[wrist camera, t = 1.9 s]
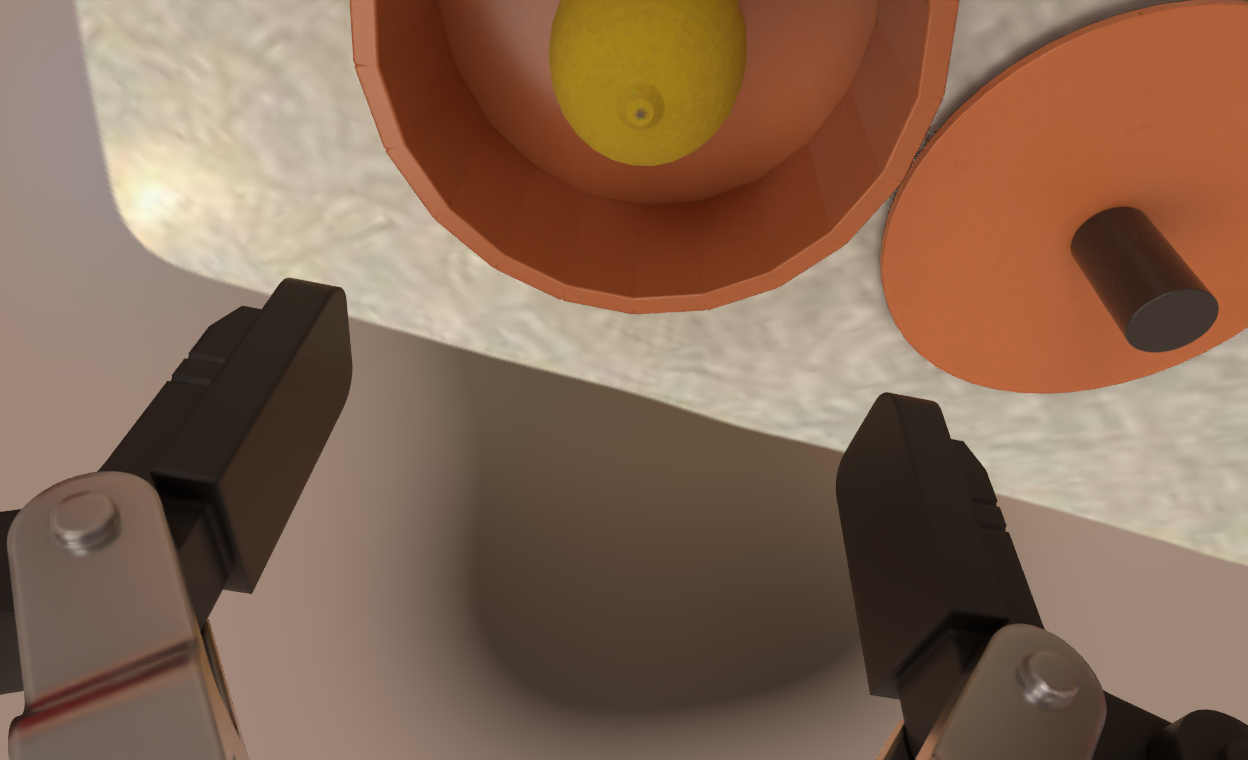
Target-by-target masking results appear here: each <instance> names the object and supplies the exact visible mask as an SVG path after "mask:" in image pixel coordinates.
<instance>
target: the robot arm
mask: <svg viewBox="0 0 1248 760" xmlns="http://www.w3.org/2000/svg"><path fill="white" fill-rule="evenodd" d="M351 379H352V355H351V344H350V334H349V323H348V312H347V301H346V295H345V292H344V290H343V289H342V288H341V287H336V286H331V285H325V284H320V283H315V282H310V281H304V280H299V279H294V278H286V279H284V280H283V281H282V282H281V283H280V284H279V285H278V287H277V288H276V290H275V291H274V293H273V294H272V295H271V297H270V299H269V300H268V301H267V303H266V304H265V305H264V307H263V308H262V309H257V308H252V307H246V306H241V307H239V308H238V309H236V310H235V311H233V312H231V313H230V314H228V315H227V316H225V317H223V318H222V319H220V320H219V321H217V322H215V323H214V324H212V325H211V326H209V327H208V329H207V330H206V331H205V333H204V334H203V335H202V336H201V338H200V339H199V340H198V342H197V343H196V344H195V346H194V347H193V348H192V350H191V351H190V352H189V357H188V359H184V360H183V361H182V363H181V364H180V365H179V367H178V368H177V369H176V370H175V372H174V373H173V374H172V379H171V381H167V382H166V384H165V385H164V386H163V388H162V389H161V390H160V392H159V393H158V394H157V395H156V397H155V398H154V399H153V401H152V402H151V403H150V405H149V406H148V407H147V409H146V410H145V411H144V412H143V414H142V415H141V416H140V418H139V419H138V420H137V422H136V423H135V424H134V426H133V427H132V428H131V430H130V431H129V432H128V433H127V435H126V436H125V437H124V439H123V440H122V441H121V443H120V444H119V445H118V446H117V448H116V449H115V450H114V452H113V453H112V454H111V456H110V457H109V458H108V460H107V461H106V462H105V463H104V465H103V466H102V467H101V468H100V469H99V470H98V471H97V472H93V473H88V474H83V475H79V476H75V477H72V478H69V479H66V480H64V481H62V482H59V483H57V484H55V485H53V486H51V487H49V488H48V489H46V490H44V491H43V492H41V493H40V494H38V495H37V496H36V497H34V498H33V499H32V500H31V501H30V502H29V503H27V504H26V505H25V506H24V507H23V508H22V509H18V510H12V511H5V512H0V695H1V694H6V693H13V692H19V691H24V696H25V708H24V712H23V714H22V715H20V716H18V717H15V718H14V719H13V721H12V722H11V724H10V729H9V736H8V754H9V760H249V757H248V753H247V750H246V747H245V744H244V741H243V737H242V734H241V730H240V727H239V723H238V720H237V716H236V713H235V709H234V706H233V702H232V699H231V695H230V692H229V688H228V685H227V682H226V678H225V674H224V671H223V667H222V664H221V661H220V657H219V654H218V650H217V646H216V643H215V640H214V636H213V633H212V629H211V626H210V622H209V619H208V617H209V614H210V613H211V611H212V609H213V607H214V605H215V603H216V601H217V599H218V598H219V596H220V594H221V592H222V590H223V589H224V590H230V591H236V592H242V593H249V594H252V592H253V590H254V588H255V586H256V584H257V582H258V580H259V578H260V576H261V574H262V572H263V570H264V568H265V566H266V564H267V562H268V560H269V558H270V556H271V554H272V552H273V550H274V548H275V546H276V544H277V542H278V540H279V538H280V535H281V534H282V532H283V529H284V527H285V525H286V523H287V521H288V519H289V517H290V515H291V513H292V511H293V509H294V507H295V505H296V503H297V501H298V499H299V497H300V495H301V493H302V491H303V489H304V487H305V485H306V483H307V481H308V479H309V477H310V474H311V473H312V471H313V468H314V466H315V464H316V462H317V460H318V458H319V456H320V454H321V452H322V450H323V448H324V446H325V444H326V442H327V440H328V438H329V436H330V434H331V432H332V430H333V428H334V426H335V424H336V422H337V420H338V418H339V416H340V413H341V411H342V409H343V407H344V405H345V403H346V400H347V397H348V394H349V390H350V385H351ZM836 496H837V503H838V508H839V514H840V520H841V526H842V532H843V538H844V544H845V549H846V556H847V561H848V567H849V573H850V579H851V585H852V591H853V597H854V602H855V609H856V614H857V620H858V626H859V632H860V638H861V644H862V650H863V656H864V662H865V667H866V673H867V679H868V685H869V691H870V695H874V696H880V697H887V698H893V699H900V702H901V707H902V712H903V717H904V718H903V719H902V720H901V721H900V722H899V723H898V724H897V725H896V727H895V728H894V729H893V731H892V733H891V735H890V736H889V738H888V740H887V741H886V743H885V745H884V746H883V748H882V750H881V752H880V753H879V755H878V757H877V758H876V760H1248V725H1246V724H1245V723H1243V722H1241V721H1240V720H1238V719H1236V718H1234V717H1232V716H1229V715H1227V714H1224V713H1221V712H1218V711H1213V710H1197V711H1194V712H1191V713H1189V714H1188V715H1186V716H1184V717H1182V718H1180V719H1179V720H1177V721H1175V722H1174V723H1170V722H1168V721H1166V720H1164V719H1162V718H1160V717H1158V716H1155V715H1154V714H1152V713H1149V712H1147V711H1145V710H1143V709H1141V708H1139V707H1137V706H1134V705H1132V704H1130V703H1128V702H1126V701H1124V700H1121V699H1120V698H1117V697H1115V696H1113V695H1111V694H1109V693H1108V692H1106V691H1104V690H1103V689H1102V687H1101V684H1100V683H1099V680H1098V679H1097V677H1096V675H1095V673H1094V672H1093V670H1092V669H1091V667H1090V666H1089V665H1088V664H1087V662H1086V661H1085V660H1084V659H1083V657H1082V656H1081V655H1080V654H1079V653H1078V652H1077V651H1076V650H1075V649H1074V648H1073V647H1071V646H1070V645H1069V644H1067V643H1066V642H1065V641H1064V640H1062V639H1061V638H1059V637H1058V636H1056V635H1054V634H1052V633H1051V632H1048V631H1046V630H1045V629H1044V627H1043V624H1042V621H1041V619H1040V616H1039V613H1038V610H1037V608H1036V605H1035V602H1034V600H1033V597H1032V594H1031V591H1030V589H1029V586H1028V583H1027V580H1026V578H1025V575H1024V572H1023V570H1022V567H1021V564H1020V561H1019V559H1018V556H1017V553H1016V550H1015V548H1014V545H1013V542H1012V540H1011V537H1010V534H1009V533H1008V532H1006V531H1005V528H1006V523H1005V521H1004V518H1003V515H1002V512H1001V509H1000V507H997V506H996V503H997V499H996V496H995V493H994V490H993V488H992V485H991V482H990V479H989V477H988V474H987V471H986V470H985V468H984V467H983V466H982V464H981V463H980V462H979V461H978V459H977V458H976V457H975V456H974V454H973V453H972V452H971V450H970V449H969V448H968V447H967V445H966V444H965V443H964V442H963V441H959V440H953V439H951V438H950V435H949V432H948V429H947V426H946V423H945V420H944V417H943V414H942V411H941V408H940V407H939V405H938V404H937V403H936V402H934V401H930V400H925V399H920V398H914V397H909V396H904V395H898V394H893V393H888V392H886V393H883V394H881V395H880V396H879V397H878V398H877V399H876V401H875V403H874V404H873V406H872V408H871V409H870V411H869V413H868V414H867V416H866V418H865V419H864V421H863V423H862V424H861V426H860V428H859V429H858V431H857V433H856V435H855V436H854V438H853V440H852V441H851V443H850V445H849V446H848V448H847V450H846V451H845V453H844V455H843V457H842V459H841V462H840V465H839V468H838V473H837V480H836Z"/></svg>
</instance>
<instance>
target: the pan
mask: <svg viewBox="0 0 1248 760" xmlns="http://www.w3.org/2000/svg"><path fill="white" fill-rule="evenodd" d="M560 1H561V0H350V14H351V30H352V45H353V61H354V64H355V69H356V72H357V75H358V77H359V80H360V83H361V86H362V88H363V91H364V94H365V97H366V99H367V102H368V105H369V108H370V110H371V113H372V116H373V118H374V121H375V124H376V127H377V129H378V132H379V135H380V138H381V140H382V143H383V146H384V148H385V149H386V152H387V154H388V155H389V157H390V158H391V159H392V161H393V162H394V164H395V165H396V166H397V168H398V169H399V171H400V172H401V173H402V175H403V176H404V178H405V179H406V180H407V182H408V183H409V185H410V186H411V187H412V189H413V190H414V192H415V193H416V194H417V196H418V197H419V199H420V200H421V201H422V203H423V204H424V206H425V207H426V208H427V210H428V211H429V213H430V214H431V215H432V217H433V218H435V220H436V221H437V222H438V223H440V224H441V225H442V226H443V227H445V228H446V229H447V230H448V231H449V232H451V233H452V234H453V235H454V236H455V237H457V238H458V239H459V240H460V241H461V242H463V243H464V244H465V245H466V246H467V247H469V248H470V249H471V250H472V251H473V252H475V253H476V254H477V255H478V256H480V257H481V258H482V259H483V260H484V261H486V262H487V263H488V264H489V265H490V266H492V267H493V268H495V269H497V270H499V271H501V272H503V273H505V274H507V275H509V276H511V277H513V278H516V279H518V280H520V281H522V282H524V283H526V284H528V285H530V286H532V287H535V288H537V289H539V290H541V291H543V292H545V293H547V294H549V295H552V296H554V297H556V298H558V299H563V300H564V301H568V302H573V303H578V304H583V305H588V306H593V307H598V308H604V309H609V310H614V311H619V312H624V313H629V314H633V313H634V314H649V313H666V312H684V311H701V310H706V309H707V310H710V309H713V308H716V307H719V306H723V305H726V304H729V303H732V302H735V301H738V300H741V299H745V298H748V297H751V296H754V295H757V294H760V293H763V292H766V291H770V290H773V289H776V288H778V287H780V286H782V285H783V284H785V283H786V282H788V281H790V280H791V279H793V278H794V277H796V276H797V275H799V274H801V273H802V272H804V271H805V270H807V269H808V268H810V267H812V266H813V265H815V264H816V263H818V262H819V261H821V260H823V259H824V258H826V257H827V256H829V255H830V254H832V253H834V252H835V251H837V250H838V249H840V248H841V247H843V246H844V245H845V244H847V243H848V242H849V241H850V239H851V238H852V237H853V236H854V235H855V234H856V233H857V232H858V231H859V230H860V228H861V227H862V226H863V225H864V224H865V223H866V222H867V221H868V220H869V218H870V217H871V216H872V215H873V214H874V213H875V212H876V211H877V210H878V209H879V207H880V206H881V205H882V204H883V203H884V202H885V201H886V200H887V199H888V198H889V196H890V195H891V194H892V193H893V192H894V191H895V190H896V189H897V188H898V187H899V185H900V184H901V183H902V180H903V179H904V178H905V176H906V173H907V171H908V169H909V167H910V165H911V163H912V161H913V159H914V157H915V155H916V153H917V151H918V149H919V147H920V145H921V143H922V141H923V139H924V137H925V135H926V133H927V131H928V129H929V127H930V125H931V123H932V121H933V119H934V117H935V115H936V112H937V110H938V108H939V106H940V104H941V102H942V97H943V96H944V94H945V87H946V81H947V75H948V69H949V63H950V56H951V50H952V44H953V38H954V32H955V25H956V19H957V13H958V7H959V1H960V0H738V3H739V6H740V9H741V12H742V14H743V17H744V20H745V27H746V40H747V59H746V65H745V71H744V77H743V83H742V86H741V89H740V91H739V94H738V96H737V98H736V101H735V103H734V105H733V108H732V110H731V112H730V114H729V116H728V117H727V118H726V120H725V121H724V122H723V124H722V125H721V126H720V128H719V129H718V130H717V131H716V133H715V134H714V135H713V136H712V138H710V139H709V140H708V141H707V142H705V143H704V144H703V145H702V146H700V147H699V148H698V149H697V150H695V151H694V152H692V153H691V154H688V155H686V156H684V157H682V158H680V159H678V160H676V161H674V162H670V163H665V164H660V165H655V166H639V165H629V164H626V163H622V162H618V161H614V160H612V159H610V158H608V157H606V156H604V155H602V154H601V153H599V152H597V151H595V150H594V149H593V148H591V147H590V146H589V145H588V144H587V143H586V142H585V141H584V140H583V139H581V138H580V137H579V136H578V135H577V134H576V132H575V131H574V130H573V128H572V127H571V125H570V124H569V122H568V121H567V120H566V118H565V117H564V115H563V113H562V111H561V108H560V105H559V103H558V100H557V98H556V95H555V92H554V90H553V86H552V79H551V71H550V63H549V46H550V37H551V28H552V23H553V19H554V17H555V14H556V11H557V9H558V6H559V3H560Z"/></svg>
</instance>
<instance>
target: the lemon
mask: <svg viewBox="0 0 1248 760" xmlns="http://www.w3.org/2000/svg"><path fill="white" fill-rule="evenodd" d="M746 59H747V40H746V27H745V20H744V17H743V14H742V12H741V9H740V6H739V3H738V0H561V1H560V3H559V6H558V9H557V11H556V14H555V17H554V19H553V23H552V28H551V37H550V46H549V63H550V71H551V79H552V86H553V90H554V92H555V95H556V98H557V100H558V103H559V105H560V108H561V111H562V113H563V115H564V117H565V118H566V120H567V121H568V122H569V124H570V125H571V127H572V128H573V130H574V131H575V132H576V134H577V135H578V136H579V137H580V138H581V139H583V140H584V141H585V142H586V143H587V144H588V145H589V146H590V147H591V148H593V149H594V150H595V151H597V152H599V153H601V154H602V155H604V156H606V157H608V158H610V159H612V160H614V161H618V162H622V163H626V164H629V165H639V166H655V165H660V164H665V163H670V162H674V161H676V160H678V159H680V158H682V157H684V156H686V155H688V154H691V153H692V152H694V151H695V150H697V149H698V148H699V147H700V146H702V145H703V144H704V143H705V142H707V141H708V140H709V139H710V138H712V136H713V135H714V134H715V133H716V131H717V130H718V129H719V128H720V126H721V125H722V124H723V122H724V121H725V120H726V118H727V117H728V116H729V114H730V112H731V110H732V108H733V105H734V103H735V101H736V98H737V96H738V94H739V91H740V89H741V86H742V83H743V77H744V71H745V65H746Z"/></svg>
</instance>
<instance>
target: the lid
mask: <svg viewBox="0 0 1248 760" xmlns="http://www.w3.org/2000/svg"><path fill="white" fill-rule="evenodd" d="M880 264H881V281H882V285H883V290H884V294H885V298H886V302H887V305H888V308H889V310H890V312H891V315H892V317H893V319H894V322H895V324H896V325H897V327H898V328H899V330H900V331H901V333H902V334H903V336H904V337H905V339H906V340H907V341H908V342H909V343H910V344H911V346H912V347H913V348H914V349H915V350H916V351H917V352H918V353H919V354H920V355H922V356H923V357H924V358H926V359H927V360H928V361H930V362H931V363H932V364H934V365H935V366H936V367H938V368H940V369H942V370H944V371H945V372H947V373H949V374H951V375H953V376H955V377H957V378H960V379H963V380H965V381H968V382H971V383H973V384H977V385H981V386H985V387H989V388H993V389H997V390H1004V391H1012V392H1019V393H1042V394H1044V393H1065V392H1075V391H1082V390H1090V389H1097V388H1101V387H1106V386H1111V385H1116V384H1120V383H1124V382H1128V381H1131V380H1135V379H1138V378H1141V377H1145V376H1148V375H1151V374H1154V373H1157V372H1159V371H1162V370H1165V369H1167V368H1170V367H1173V366H1175V365H1178V364H1180V363H1182V362H1184V361H1187V360H1189V359H1191V358H1193V357H1195V356H1198V355H1200V354H1202V353H1204V352H1206V351H1208V350H1210V349H1212V348H1213V347H1215V346H1217V345H1219V344H1221V343H1223V342H1224V341H1226V340H1228V339H1230V338H1232V337H1233V336H1235V335H1236V334H1238V333H1239V332H1241V331H1243V330H1244V329H1246V328H1247V327H1248V1H1242V0H1191V1H1183V2H1174V3H1166V4H1160V5H1156V6H1151V7H1147V8H1143V9H1139V10H1134V11H1130V12H1126V13H1122V14H1119V15H1116V16H1113V17H1111V18H1108V19H1105V20H1102V21H1099V22H1096V23H1094V24H1091V25H1088V26H1085V27H1083V28H1081V29H1079V30H1076V31H1074V32H1072V33H1070V34H1068V35H1066V36H1064V37H1061V38H1059V39H1057V40H1055V41H1053V42H1051V43H1049V44H1047V45H1045V46H1043V47H1042V48H1040V49H1038V50H1037V51H1035V52H1033V53H1032V54H1030V55H1028V56H1027V57H1025V58H1023V59H1022V60H1020V61H1018V62H1016V63H1015V64H1013V65H1012V66H1011V67H1009V68H1008V69H1006V70H1005V71H1004V72H1002V73H1001V74H1000V75H998V76H997V77H995V78H994V79H993V80H991V81H990V82H989V83H987V84H986V85H985V86H983V87H982V88H981V89H980V90H979V91H978V92H976V93H975V94H974V95H973V96H972V97H971V98H970V99H969V100H967V101H966V102H965V103H964V104H963V105H962V106H961V107H960V108H959V109H957V110H956V111H955V112H954V114H953V115H952V116H951V117H950V118H949V119H948V120H947V121H946V122H945V123H944V124H943V126H942V127H941V128H940V129H939V130H938V131H937V132H936V133H935V134H934V135H933V137H932V138H931V139H930V141H929V142H928V143H927V145H926V146H925V147H924V149H923V150H922V152H921V153H920V154H919V156H918V157H917V158H916V160H915V161H914V163H913V164H912V166H911V168H910V170H909V171H908V173H907V175H906V177H905V178H904V180H903V182H902V184H901V185H900V187H899V190H898V192H897V194H896V197H895V199H894V202H893V204H892V206H891V209H890V211H889V214H888V218H887V222H886V226H885V230H884V234H883V238H882V248H881V257H880Z"/></svg>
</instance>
